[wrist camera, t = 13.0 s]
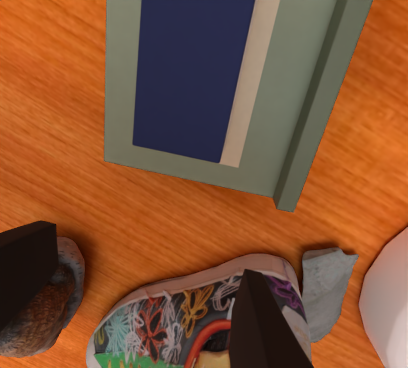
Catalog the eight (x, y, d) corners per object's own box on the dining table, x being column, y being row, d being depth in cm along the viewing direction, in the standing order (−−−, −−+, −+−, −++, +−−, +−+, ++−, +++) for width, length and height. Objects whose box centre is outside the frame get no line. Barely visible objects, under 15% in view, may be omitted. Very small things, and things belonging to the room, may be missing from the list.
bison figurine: (87, 320, 25) (1, 451, 16) (26, 297, 25) (-95, 416, 16) (105, 234, 21) (1, 347, 12) (31, 206, 21) (-134, 298, 12)
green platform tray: (124, 151, 18) (89, 168, 14) (136, -100, 12) (86, -197, 8) (279, 184, 17) (293, 213, 13) (362, -65, 12) (430, -151, 8)
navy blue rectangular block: (225, 147, 14) (220, 169, 10) (159, 133, 14) (128, 149, 10) (268, -52, 10) (289, -142, 6) (180, -66, 10) (146, -162, 6)
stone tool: (280, 339, 21) (325, 326, 23) (292, 358, 20) (339, 342, 21) (297, 242, 18) (348, 233, 19) (312, 255, 16) (367, 245, 18)
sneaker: (83, 310, 25) (-4, 434, 16) (265, 224, 19) (296, 346, 10) (127, 355, 27) (72, 490, 17) (307, 290, 20) (366, 446, 11)
